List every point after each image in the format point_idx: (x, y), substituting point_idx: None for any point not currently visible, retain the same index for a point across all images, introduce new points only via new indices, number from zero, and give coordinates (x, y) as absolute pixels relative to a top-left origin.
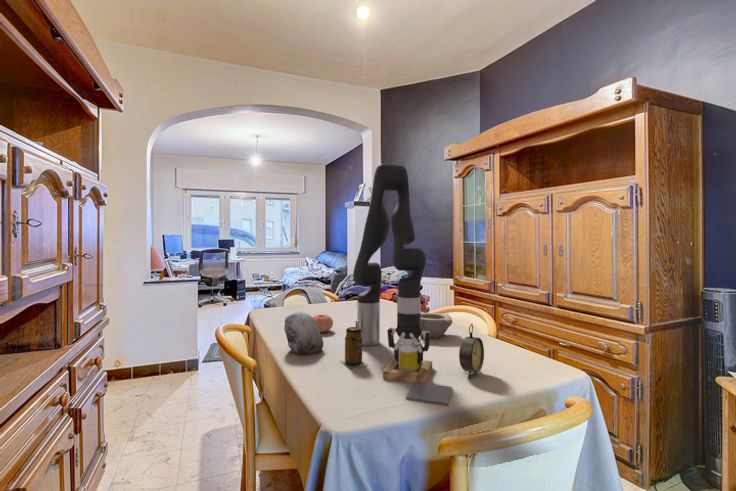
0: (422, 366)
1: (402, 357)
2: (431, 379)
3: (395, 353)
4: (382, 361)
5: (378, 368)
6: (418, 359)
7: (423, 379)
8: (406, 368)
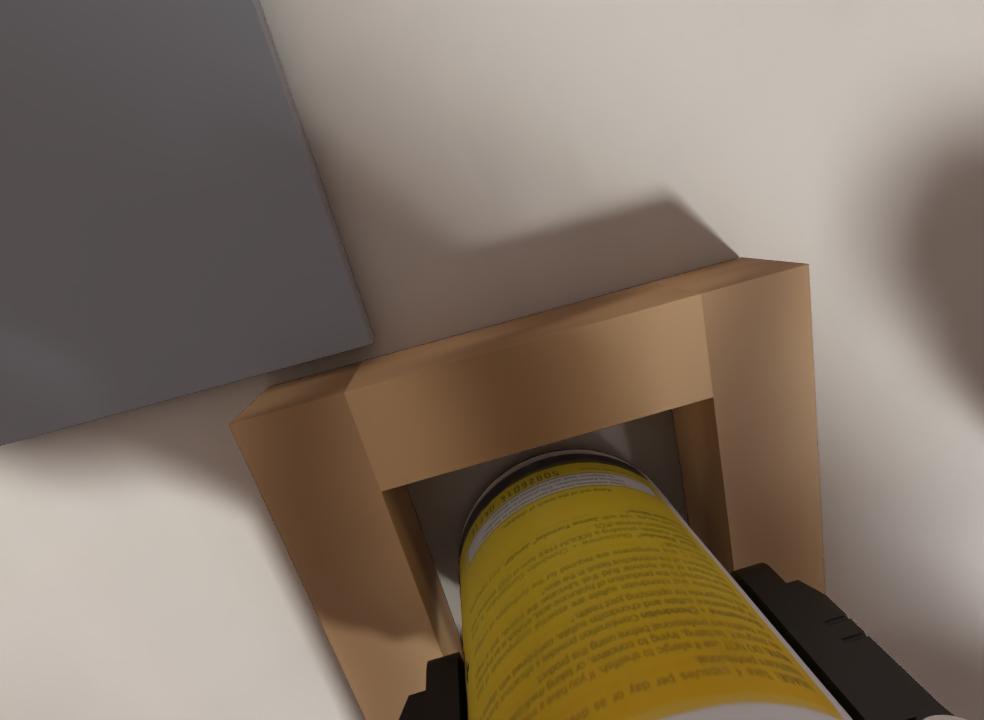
0: None
1: (690, 595)
2: None
3: (866, 660)
4: (899, 627)
5: (880, 470)
6: (447, 713)
7: (263, 403)
8: (561, 498)
